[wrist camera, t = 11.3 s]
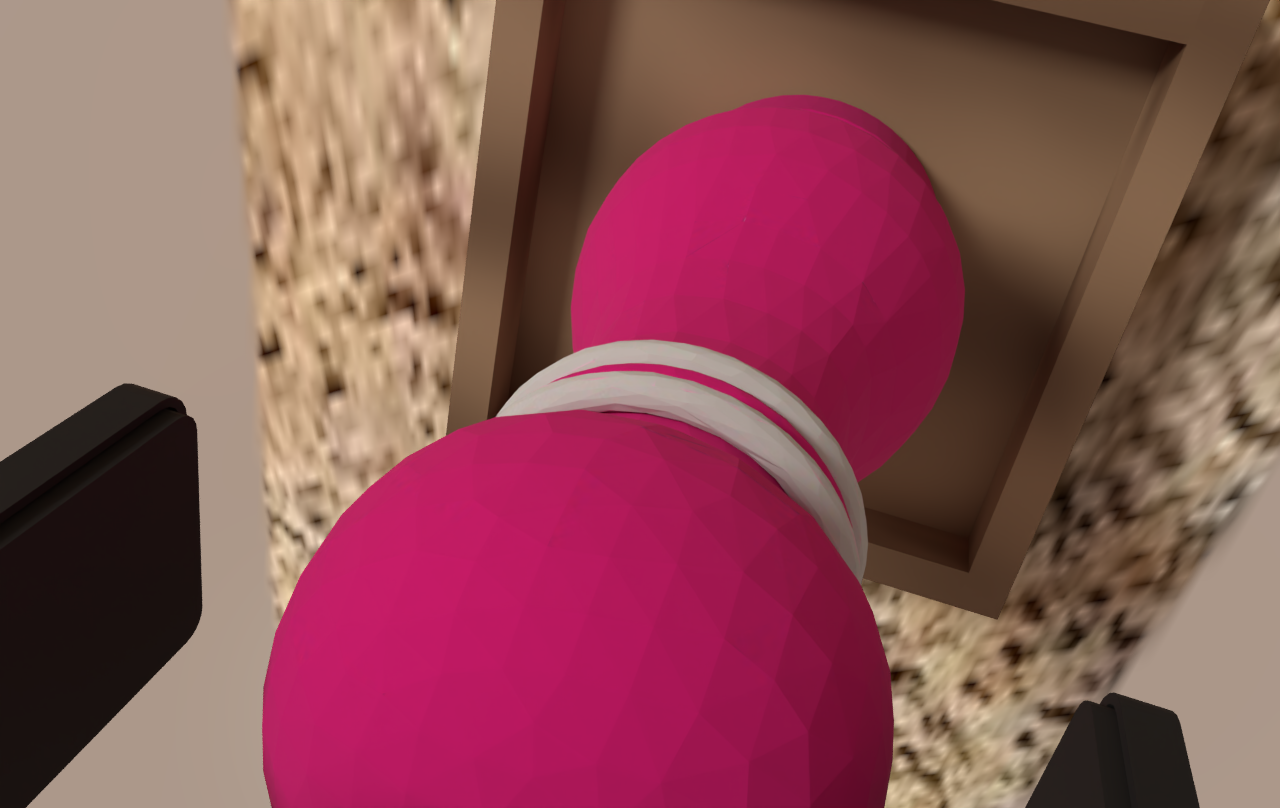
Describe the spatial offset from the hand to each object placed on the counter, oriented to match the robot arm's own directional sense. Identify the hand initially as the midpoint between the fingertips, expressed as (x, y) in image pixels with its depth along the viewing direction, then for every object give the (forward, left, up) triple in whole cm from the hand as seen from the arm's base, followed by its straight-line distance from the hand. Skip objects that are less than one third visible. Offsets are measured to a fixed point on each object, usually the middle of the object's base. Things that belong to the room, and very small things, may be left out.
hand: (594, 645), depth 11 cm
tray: (+1, 0, -16) cm, 16 cm away
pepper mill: (0, 0, -15) cm, 15 cm away
